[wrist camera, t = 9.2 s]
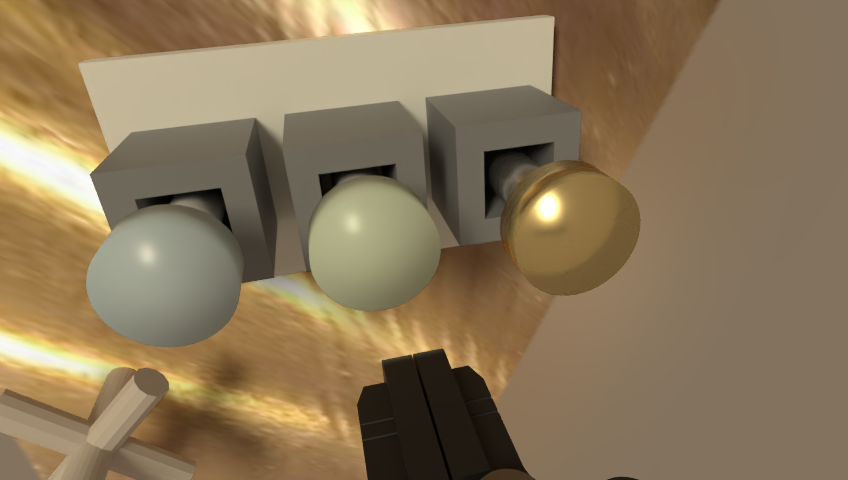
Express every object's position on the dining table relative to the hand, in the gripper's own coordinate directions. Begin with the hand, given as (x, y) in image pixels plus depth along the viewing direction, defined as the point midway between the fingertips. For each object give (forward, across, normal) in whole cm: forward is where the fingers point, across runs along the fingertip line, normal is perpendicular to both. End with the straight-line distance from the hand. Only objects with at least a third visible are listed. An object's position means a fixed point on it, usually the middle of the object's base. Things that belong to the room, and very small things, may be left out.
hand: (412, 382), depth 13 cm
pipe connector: (+18, +15, +12) cm, 27 cm away
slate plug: (+15, +7, 0) cm, 16 cm away
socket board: (+18, 0, 0) cm, 18 cm away
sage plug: (+15, 0, 0) cm, 15 cm away
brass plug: (+14, -7, 0) cm, 15 cm away
